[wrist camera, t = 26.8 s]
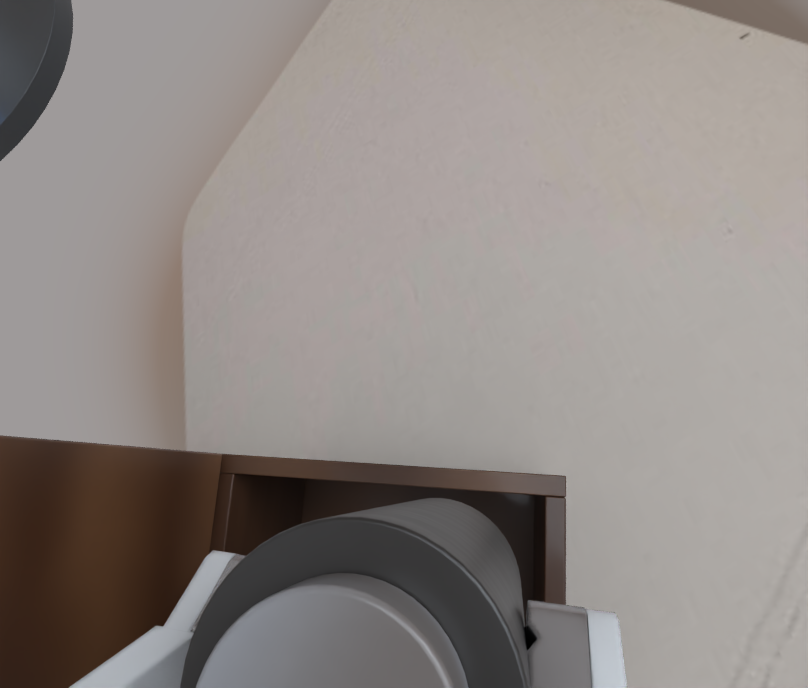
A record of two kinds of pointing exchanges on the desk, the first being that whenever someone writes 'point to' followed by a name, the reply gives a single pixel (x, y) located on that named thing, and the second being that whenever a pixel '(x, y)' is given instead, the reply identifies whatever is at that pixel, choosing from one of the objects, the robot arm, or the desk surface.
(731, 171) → the desk surface
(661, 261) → the desk surface
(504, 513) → the chest
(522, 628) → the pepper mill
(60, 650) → the chest door
